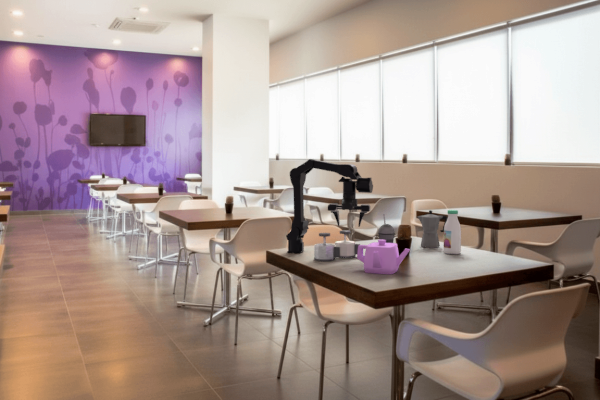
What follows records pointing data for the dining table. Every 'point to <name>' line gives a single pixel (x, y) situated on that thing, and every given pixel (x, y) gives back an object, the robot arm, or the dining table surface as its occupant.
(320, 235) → the steel plunger
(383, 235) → the beverage cup
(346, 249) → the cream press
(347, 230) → the cream plunger
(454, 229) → the milk bottle
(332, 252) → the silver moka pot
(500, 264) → the dining table surface
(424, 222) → the coffeepot
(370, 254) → the teakettle
